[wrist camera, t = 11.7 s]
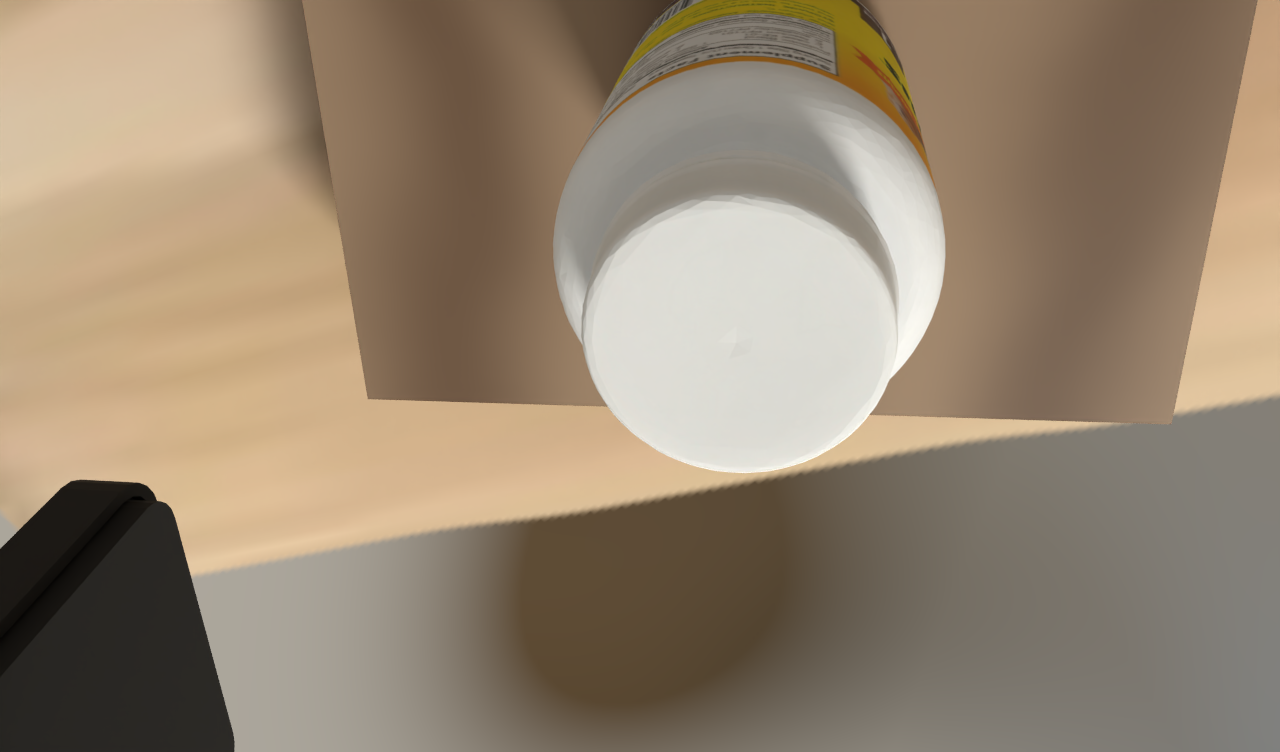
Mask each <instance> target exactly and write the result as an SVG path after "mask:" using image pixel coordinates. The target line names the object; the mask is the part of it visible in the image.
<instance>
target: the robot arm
mask: <svg viewBox="0 0 1280 752" xmlns="http://www.w3.org/2000/svg"><path fill="white" fill-rule="evenodd" d="M0 752H234V736H233V731H232V727H231V723H230V720H229V716H228V712H227V709H226V705H225V701H224V697H223V694H222V690H221V686H220V683H219V679H218V675H217V672H216V668H215V664H214V660H213V657H212V653H211V649H210V646H209V642H208V638H207V635H206V631H205V627H204V623H203V620H202V616H201V612H200V609H199V605H198V601H197V597H196V594H195V590H194V587H193V583H192V579H191V575H190V572H189V568H188V564H187V560H186V557H185V553H184V549H183V546H182V542H181V538H180V535H179V531H178V527H177V523H176V520H175V517H174V514H173V512H172V509H171V508H170V507H169V506H168V505H167V504H166V503H163V502H161V501H157V500H156V497H155V495H154V493H153V492H152V491H151V490H150V489H149V487H148V486H146V485H143V484H141V483H132V482H114V481H95V480H76V481H71V482H69V483H68V484H67V485H65V486H64V487H62V488H61V489H60V490H59V491H58V492H57V493H56V494H55V495H54V496H53V497H52V498H51V499H50V500H49V501H48V502H47V503H46V504H45V505H44V506H43V507H42V508H41V509H40V510H39V511H38V512H37V513H36V514H35V515H34V516H33V517H32V518H31V519H30V520H29V521H28V522H27V523H26V524H25V525H24V526H23V527H22V528H21V529H20V530H19V531H18V532H17V533H16V534H15V535H14V536H13V537H12V538H11V539H10V540H9V541H8V542H7V543H6V544H5V545H4V546H3V547H2V548H1V549H0Z"/></svg>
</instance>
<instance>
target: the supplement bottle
mask: <svg viewBox="0 0 1280 752" xmlns="http://www.w3.org/2000/svg"><path fill="white" fill-rule="evenodd" d="M553 259H554V270H555V275H556V281H557V287H558V291H559V295H560V298H561V301H562V303H563V307H564V311H565V313H566V316H567V318H568V320H569V323H570V325H571V326H572V328H573V330H574V332H575V333H576V335H577V337H578V339H579V340H580V342H581V344H582V345H583V351H584V355H585V359H586V363H587V366H588V369H589V372H590V375H591V378H592V380H593V382H594V384H595V386H596V388H597V390H598V392H599V394H600V395H601V397H602V399H603V400H604V402H605V403H606V404H607V406H608V407H609V409H610V410H611V412H612V413H613V414H614V415H615V416H616V417H617V419H618V420H619V421H620V422H621V423H622V424H623V425H624V426H625V427H627V428H628V429H629V430H630V431H631V432H632V433H633V434H634V435H636V436H637V437H638V438H640V439H641V440H643V441H644V442H645V443H647V444H648V445H650V446H651V447H653V448H654V449H656V450H657V451H659V452H661V453H663V454H665V455H667V456H669V457H671V458H674V459H676V460H679V461H681V462H684V463H686V464H689V465H692V466H696V467H700V468H705V469H709V470H713V471H722V472H734V473H753V472H765V471H773V470H777V469H782V468H786V467H790V466H793V465H797V464H800V463H803V462H806V461H808V460H810V459H813V458H815V457H817V456H819V455H821V454H822V453H824V452H826V451H828V450H829V449H831V448H833V447H834V446H836V445H838V444H839V443H840V442H842V441H843V440H845V439H846V438H847V437H849V436H850V435H851V434H852V433H853V432H854V431H855V430H856V429H857V428H858V427H859V426H860V425H861V424H862V423H863V422H864V421H865V419H866V418H867V417H868V416H869V414H870V413H871V412H872V411H873V410H874V408H875V407H876V405H877V404H878V402H879V400H880V398H881V396H882V395H883V393H884V391H885V389H886V386H887V384H888V382H889V380H890V379H891V378H892V377H893V376H894V375H895V374H896V372H897V371H898V370H899V369H900V368H901V367H902V366H903V365H904V364H905V362H906V361H907V360H908V358H909V357H910V356H911V354H912V353H913V352H914V350H915V348H916V347H917V345H918V344H919V342H920V340H921V339H922V337H923V335H924V333H925V331H926V329H927V328H928V325H929V323H930V321H931V319H932V317H933V314H934V311H935V308H936V306H937V303H938V300H939V296H940V292H941V288H942V283H943V276H944V267H945V234H944V226H943V219H942V212H941V208H940V204H939V200H938V196H937V191H936V187H935V184H934V180H933V176H932V173H931V169H930V165H929V161H928V158H927V154H926V150H925V146H924V143H923V139H922V135H921V128H920V126H919V123H918V120H917V117H916V113H915V109H914V106H913V102H912V98H911V95H910V91H909V87H908V83H907V80H906V76H905V73H904V70H903V67H902V64H901V62H900V59H899V57H898V54H897V52H896V50H895V47H894V45H893V44H892V42H891V40H890V39H889V37H888V35H887V33H886V32H885V30H884V29H883V28H882V26H881V25H880V23H879V22H878V21H877V19H876V18H875V17H874V16H873V15H872V14H871V13H870V11H869V10H868V9H867V8H866V7H865V6H863V5H862V4H861V3H860V2H859V1H858V0H675V1H673V2H672V3H671V4H670V5H669V6H668V7H666V8H665V9H664V10H663V11H662V12H661V13H660V14H659V15H658V16H657V17H656V19H655V20H654V21H653V22H652V23H651V25H650V26H649V27H648V29H647V30H646V32H645V33H644V35H643V36H642V38H641V39H640V41H639V42H638V44H637V46H636V47H635V49H634V51H633V53H632V55H631V56H630V58H629V59H628V61H627V64H626V66H625V67H624V69H623V71H622V73H621V75H620V77H619V78H618V80H617V82H616V84H615V86H614V88H613V90H612V92H611V94H610V96H609V97H608V99H607V101H606V103H605V105H604V107H603V109H602V111H601V113H600V115H599V117H598V119H597V121H596V123H595V125H594V127H593V128H592V130H591V132H590V134H589V136H588V138H587V140H586V142H585V143H584V145H583V147H582V149H581V151H580V153H579V155H578V157H577V159H576V161H575V163H574V165H573V167H572V169H571V171H570V173H569V176H568V178H567V181H566V183H565V186H564V190H563V192H562V196H561V199H560V203H559V207H558V210H557V215H556V221H555V228H554V238H553Z"/></svg>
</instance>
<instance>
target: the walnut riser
mask: <svg viewBox="0 0 1280 752" xmlns="http://www.w3.org/2000/svg"><path fill="white" fill-rule="evenodd" d="M673 1H675V0H302V4H303V10H304V16H305V22H306V28H307V34H308V40H309V46H310V52H311V58H312V64H313V70H314V76H315V83H316V89H317V95H318V101H319V107H320V113H321V119H322V125H323V131H324V137H325V143H326V149H327V155H328V161H329V167H330V173H331V179H332V185H333V191H334V197H335V203H336V209H337V215H338V221H339V227H340V233H341V239H342V246H343V252H344V258H345V264H346V270H347V276H348V282H349V288H350V294H351V300H352V306H353V312H354V318H355V324H356V330H357V336H358V342H359V348H360V354H361V360H362V366H363V372H364V378H365V384H366V390H367V396H368V399H383V400H415V401H447V402H479V403H511V404H542V405H574V406H606V407H608V406H607V404H606V403H605V402H604V400H603V399H602V397H601V395H600V394H599V392H598V390H597V388H596V386H595V384H594V382H593V380H592V378H591V375H590V372H589V369H588V366H587V363H586V359H585V355H584V351H583V345H582V344H581V342H580V340H579V339H578V337H577V335H576V333H575V332H574V330H573V328H572V326H571V325H570V323H569V320H568V318H567V316H566V313H565V311H564V307H563V303H562V301H561V298H560V295H559V291H558V287H557V281H556V275H555V270H554V259H553V238H554V228H555V221H556V215H557V210H558V207H559V203H560V199H561V196H562V192H563V190H564V186H565V183H566V181H567V178H568V176H569V173H570V171H571V169H572V167H573V165H574V163H575V161H576V159H577V157H578V155H579V153H580V151H581V149H582V147H583V145H584V143H585V142H586V140H587V138H588V136H589V134H590V132H591V130H592V128H593V127H594V125H595V123H596V121H597V119H598V117H599V115H600V113H601V111H602V109H603V107H604V105H605V103H606V101H607V99H608V97H609V96H610V94H611V92H612V90H613V88H614V86H615V84H616V82H617V80H618V78H619V77H620V75H621V73H622V71H623V69H624V67H625V66H626V64H627V61H628V59H629V58H630V56H631V55H632V53H633V51H634V49H635V47H636V46H637V44H638V42H639V41H640V39H641V38H642V36H643V35H644V33H645V32H646V30H647V29H648V27H649V26H650V25H651V23H652V22H653V21H654V20H655V19H656V17H657V16H658V15H659V14H660V13H661V12H662V11H663V10H664V9H665V8H666V7H668V6H669V5H670V4H671V3H672V2H673ZM858 1H859V2H860V3H861V4H862V5H863V6H865V7H866V8H867V9H868V10H869V11H870V13H871V14H872V15H873V16H874V17H875V18H876V19H877V21H878V22H879V23H880V25H881V26H882V28H883V29H884V30H885V32H886V33H887V35H888V37H889V39H890V40H891V42H892V44H893V45H894V47H895V50H896V52H897V54H898V57H899V59H900V62H901V64H902V67H903V70H904V73H905V76H906V80H907V83H908V87H909V91H910V95H911V98H912V102H913V106H914V109H915V113H916V117H917V120H918V123H919V126H920V128H921V135H922V139H923V143H924V146H925V150H926V154H927V158H928V161H929V165H930V169H931V173H932V176H933V180H934V184H935V187H936V191H937V196H938V200H939V204H940V208H941V212H942V219H943V226H944V234H945V267H944V276H943V283H942V288H941V292H940V296H939V300H938V303H937V306H936V308H935V311H934V314H933V317H932V319H931V321H930V323H929V325H928V328H927V329H926V331H925V333H924V335H923V337H922V339H921V340H920V342H919V344H918V345H917V347H916V348H915V350H914V352H913V353H912V354H911V356H910V357H909V358H908V360H907V361H906V362H905V364H904V365H903V366H902V367H901V368H900V369H899V370H898V371H897V372H896V374H895V375H894V376H893V377H892V378H891V379H890V380H889V382H888V384H887V386H886V389H885V391H884V393H883V395H882V396H881V398H880V400H879V402H878V404H877V405H876V407H875V408H874V410H873V411H872V412H871V413H870V414H869V415H892V416H924V417H956V418H988V419H1019V420H1051V421H1083V422H1115V423H1147V424H1171V423H1172V418H1173V413H1174V408H1175V403H1176V398H1177V393H1178V389H1179V384H1180V379H1181V374H1182V369H1183V364H1184V359H1185V354H1186V349H1187V344H1188V339H1189V334H1190V330H1191V325H1192V320H1193V315H1194V310H1195V305H1196V300H1197V295H1198V290H1199V285H1200V280H1201V275H1202V271H1203V266H1204V261H1205V256H1206V251H1207V246H1208V241H1209V236H1210V231H1211V226H1212V221H1213V217H1214V212H1215V207H1216V202H1217V197H1218V192H1219V187H1220V182H1221V177H1222V172H1223V167H1224V162H1225V158H1226V153H1227V148H1228V143H1229V138H1230V133H1231V128H1232V123H1233V118H1234V113H1235V108H1236V104H1237V99H1238V94H1239V89H1240V84H1241V79H1242V74H1243V69H1244V64H1245V59H1246V54H1247V49H1248V45H1249V40H1250V35H1251V30H1252V25H1253V20H1254V15H1255V10H1256V5H1257V0H858Z"/></svg>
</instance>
